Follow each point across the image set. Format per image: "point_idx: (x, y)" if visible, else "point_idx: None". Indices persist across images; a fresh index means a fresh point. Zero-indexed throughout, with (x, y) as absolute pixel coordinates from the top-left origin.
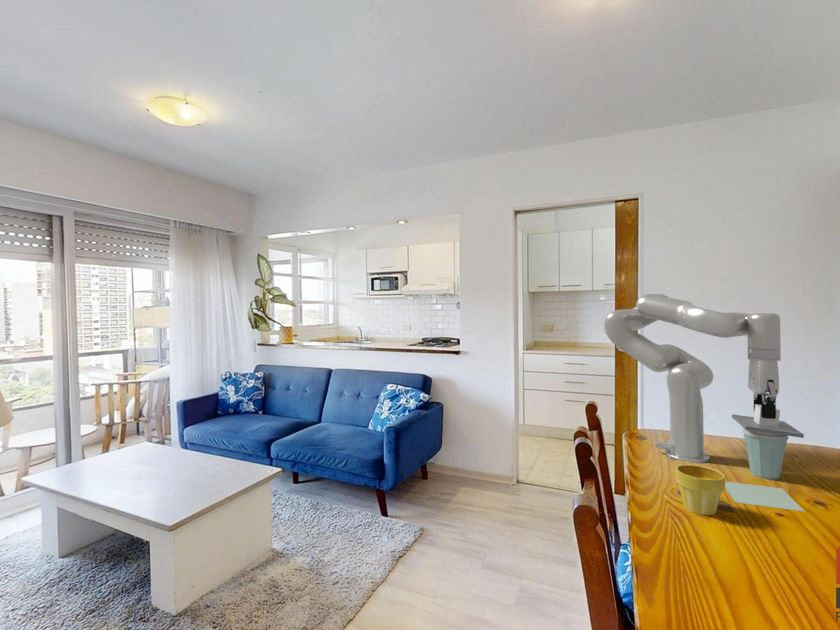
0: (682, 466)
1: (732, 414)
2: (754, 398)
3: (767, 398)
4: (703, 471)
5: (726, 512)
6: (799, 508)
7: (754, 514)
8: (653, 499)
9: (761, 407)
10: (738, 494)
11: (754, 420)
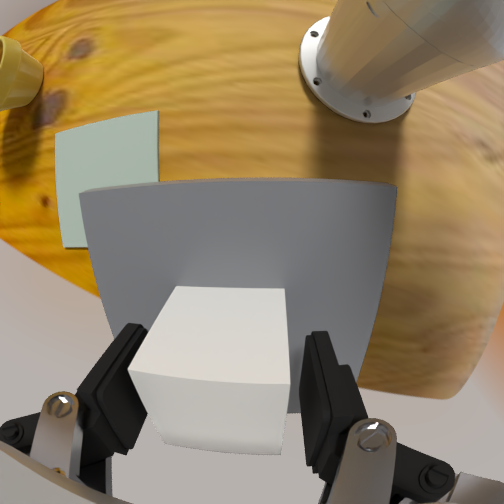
0: (2, 42)
1: (396, 187)
2: (371, 425)
3: (1, 428)
4: (3, 76)
5: (29, 120)
6: (71, 242)
7: (33, 161)
8: (53, 21)
9: (103, 370)
10: (88, 142)
11: (265, 290)
